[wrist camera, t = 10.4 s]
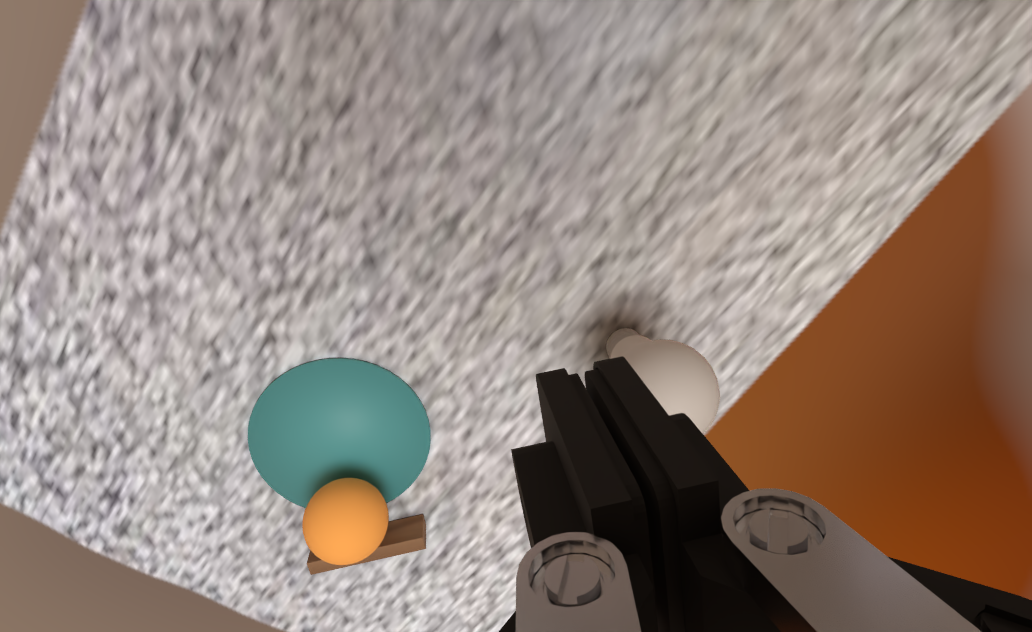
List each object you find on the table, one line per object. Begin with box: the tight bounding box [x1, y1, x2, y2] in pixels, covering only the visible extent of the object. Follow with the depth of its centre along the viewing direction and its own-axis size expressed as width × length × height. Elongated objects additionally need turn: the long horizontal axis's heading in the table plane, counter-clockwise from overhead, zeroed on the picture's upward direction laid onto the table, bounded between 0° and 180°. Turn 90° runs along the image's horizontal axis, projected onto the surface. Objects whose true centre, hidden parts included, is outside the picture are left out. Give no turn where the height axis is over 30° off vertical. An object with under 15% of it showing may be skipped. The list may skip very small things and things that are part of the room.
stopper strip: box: [307, 514, 426, 575], centre depth 42 cm, size 1×8×2 cm, turn 99°
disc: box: [248, 358, 430, 508], centre depth 40 cm, size 12×12×1 cm
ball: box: [303, 478, 389, 565], centre depth 40 cm, size 6×6×6 cm
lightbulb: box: [606, 328, 720, 434], centre depth 36 cm, size 6×6×11 cm
